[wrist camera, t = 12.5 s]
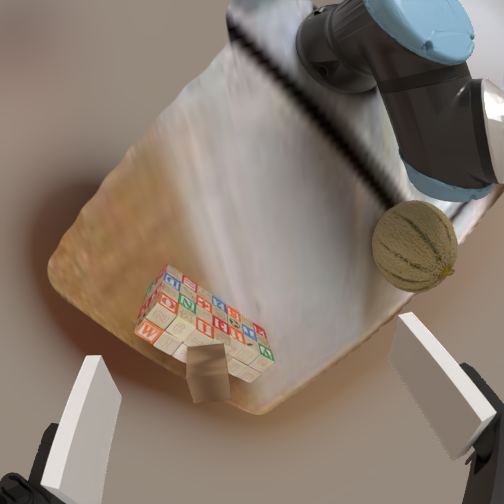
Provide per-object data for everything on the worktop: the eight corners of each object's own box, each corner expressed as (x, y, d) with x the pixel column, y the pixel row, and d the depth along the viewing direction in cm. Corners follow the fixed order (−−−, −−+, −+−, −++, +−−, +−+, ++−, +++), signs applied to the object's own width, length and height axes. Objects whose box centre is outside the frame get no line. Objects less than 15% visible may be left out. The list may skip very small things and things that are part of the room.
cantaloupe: (369, 183, 47) (425, 206, 34) (431, 201, 50) (486, 226, 37) (347, 265, 53) (389, 310, 39) (408, 272, 55) (454, 311, 42)
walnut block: (223, 343, 40) (227, 373, 35) (227, 369, 42) (231, 399, 37) (187, 346, 40) (186, 377, 34) (193, 372, 42) (193, 403, 36)
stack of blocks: (265, 328, 55) (279, 375, 44) (243, 350, 57) (252, 397, 45) (167, 262, 48) (157, 303, 37) (146, 289, 49) (132, 333, 38)
